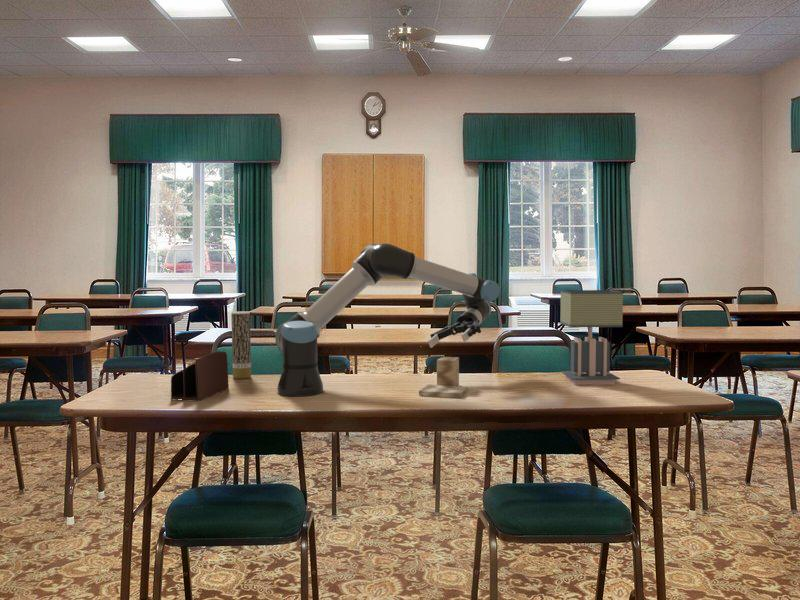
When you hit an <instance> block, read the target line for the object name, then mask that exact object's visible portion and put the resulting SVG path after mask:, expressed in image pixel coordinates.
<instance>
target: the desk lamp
mask: <svg viewBox="0 0 800 600" xmlns="http://www.w3.org/2000/svg"><path fill="white" fill-rule="evenodd" d="M623 305H624V291H618V290H614V289H613V290H612V289H592V290H591V289H587V290H586V289H584V290H583V289H581V290H579V289H578V290H577V289H574V290H572V289H567V290H565V289H564V290H563V289H562V290H560V311H559V313H560V315H559V316H560V318H559V319H560V320H559V321H560V323H559V324H561V325H562V326H566V327H568V328H588V333H587V335H588V336H585V337H584V340H582V338H580V337H576V336H574V337H573V340H570V371H569V370H567V371H565V370H563V371H561V374H563V375H565V379H566V380H568V382H570V383H572V384H573V385H574V384H575V386H582V385H581V384H595V386H598V385H599V386H600V385H603V386H604V385H605V386H609V385H616V380H620V379H621V378H620V377H619V376H618V375H617V376H616V375H615V374H613V373H611V372H610V371H611V369H610V368H611V365H610V362H611V342H610V341H608V339H607V338H605V337H602V336H598V340H597V339H596V338H594V337H593V328H623V326H624V325H623V316H624V313H623V312H624V311H623V310H624V306H623Z"/></svg>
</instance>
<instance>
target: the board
mask: <svg viewBox="0 0 800 600" xmlns="http://www.w3.org/2000/svg"><path fill="white" fill-rule="evenodd" d="M467 391H468V392H469V386H460V385H459V386H445V385H437V384H427V385H425V386H424V387H422V388H420V390H419V391H418V396H419V395H423V397H435V396H436V398H437V397H439V398H451V397H452V398H454V399H462V398H463V397H464V396H465V395H464V394H465V393H466V392H467ZM468 392H467V393H468ZM467 393H466V394H467ZM463 395H464V396H463Z"/></svg>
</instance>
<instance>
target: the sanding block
mask: <svg viewBox="0 0 800 600" xmlns="http://www.w3.org/2000/svg"><path fill="white" fill-rule="evenodd" d="M436 385H445V386H458V385H459V386H460V357H459V356H458V357H457V356H441V357H439V358H438V359H436Z"/></svg>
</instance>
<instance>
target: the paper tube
mask: <svg viewBox="0 0 800 600" xmlns="http://www.w3.org/2000/svg"><path fill="white" fill-rule="evenodd" d="M230 318H231V347H232V348H231V350H232V351H231V352H232V354H231V355H232V356H231V357H232V358H231V361H232V377H233V378H234V379H235V380H245V379H250V378H251V377H252V353H251V352H252V350H251V349H252V348H251V344H252V343H251V338H252V337H251V312H250V311H245V310H244V311H239V310H238V311H231V315H230Z"/></svg>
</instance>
